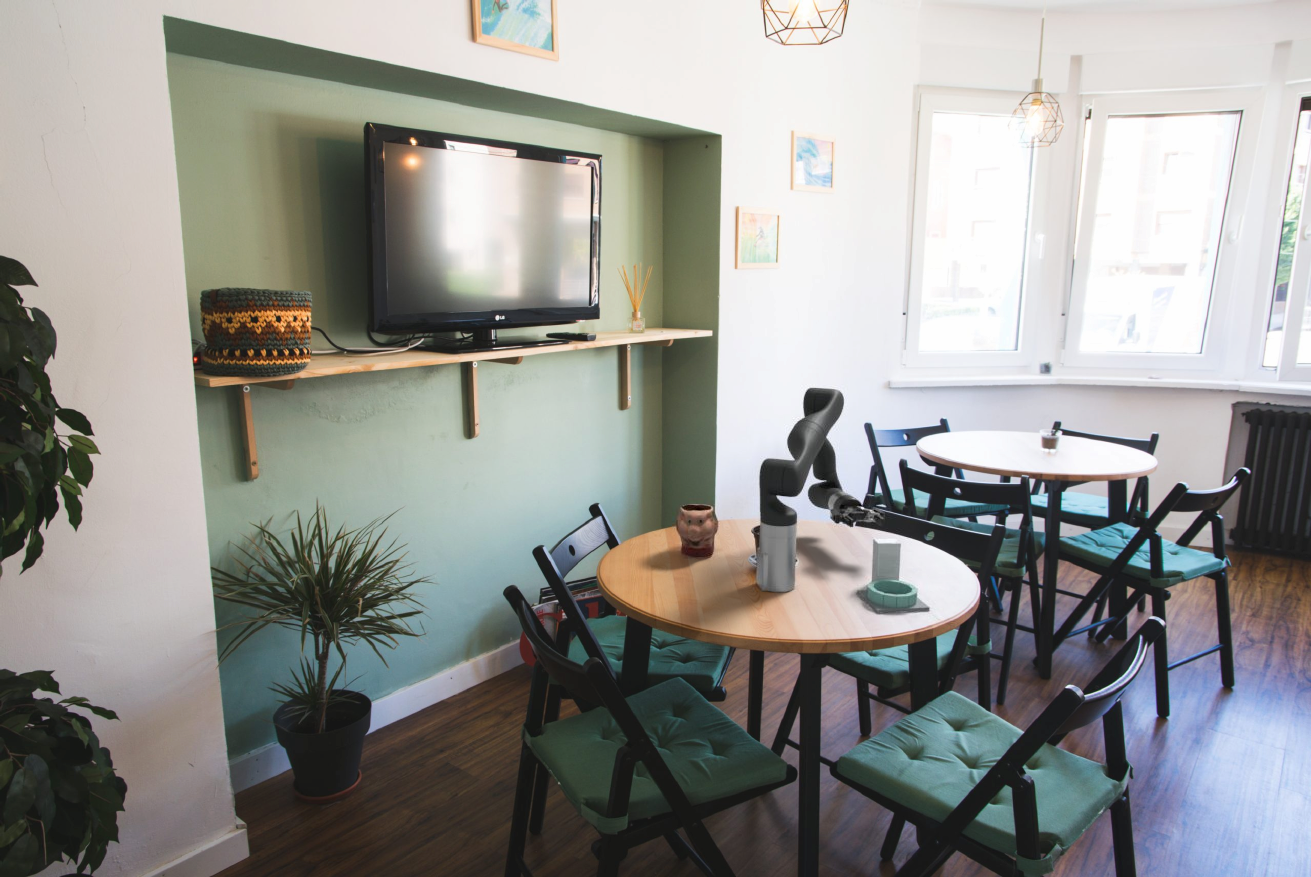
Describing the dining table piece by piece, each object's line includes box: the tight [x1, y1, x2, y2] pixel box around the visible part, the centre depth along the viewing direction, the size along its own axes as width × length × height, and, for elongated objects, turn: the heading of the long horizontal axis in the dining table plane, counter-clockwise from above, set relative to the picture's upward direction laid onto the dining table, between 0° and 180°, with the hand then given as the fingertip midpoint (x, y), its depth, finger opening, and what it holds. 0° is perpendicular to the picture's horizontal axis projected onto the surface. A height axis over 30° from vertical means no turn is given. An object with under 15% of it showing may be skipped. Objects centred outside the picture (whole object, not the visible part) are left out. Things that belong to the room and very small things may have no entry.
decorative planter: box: [675, 503, 719, 559], centre depth 232 cm, size 20×12×14 cm, turn 179°
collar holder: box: [855, 579, 931, 614], centre depth 196 cm, size 13×13×4 cm
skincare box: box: [871, 538, 902, 582], centre depth 206 cm, size 6×4×12 cm
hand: (867, 523), depth 218 cm, fingers open, 8 cm apart
